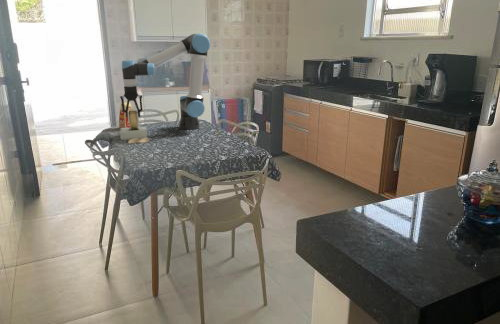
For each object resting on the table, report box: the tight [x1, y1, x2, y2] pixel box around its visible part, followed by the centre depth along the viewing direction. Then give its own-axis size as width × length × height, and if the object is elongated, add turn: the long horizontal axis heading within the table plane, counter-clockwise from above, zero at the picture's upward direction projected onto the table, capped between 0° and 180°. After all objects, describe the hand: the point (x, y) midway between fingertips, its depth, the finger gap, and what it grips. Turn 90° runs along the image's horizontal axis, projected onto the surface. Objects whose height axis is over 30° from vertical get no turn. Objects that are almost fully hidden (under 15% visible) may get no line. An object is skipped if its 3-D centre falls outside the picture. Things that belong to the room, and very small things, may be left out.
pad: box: [128, 137, 150, 145], centre depth 238 cm, size 12×10×1 cm
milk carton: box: [118, 101, 133, 130], centre depth 268 cm, size 9×9×20 cm
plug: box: [129, 110, 139, 131], centre depth 246 cm, size 5×5×13 cm
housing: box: [119, 126, 148, 141], centre depth 248 cm, size 16×12×5 cm
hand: (133, 122), depth 246 cm, fingers closed on plug, 5 cm apart
